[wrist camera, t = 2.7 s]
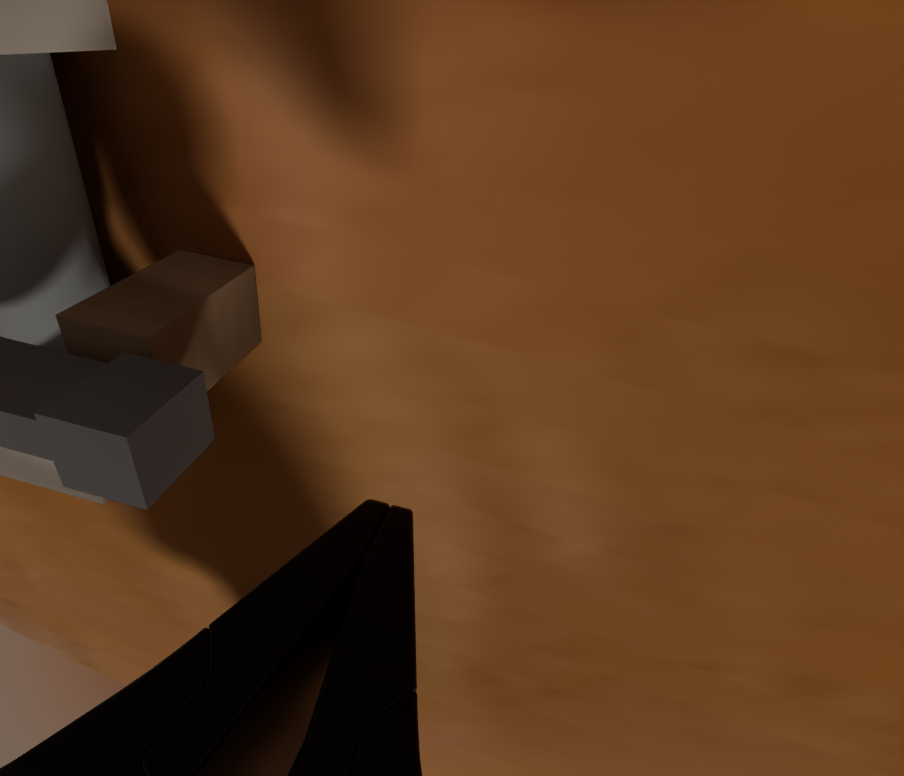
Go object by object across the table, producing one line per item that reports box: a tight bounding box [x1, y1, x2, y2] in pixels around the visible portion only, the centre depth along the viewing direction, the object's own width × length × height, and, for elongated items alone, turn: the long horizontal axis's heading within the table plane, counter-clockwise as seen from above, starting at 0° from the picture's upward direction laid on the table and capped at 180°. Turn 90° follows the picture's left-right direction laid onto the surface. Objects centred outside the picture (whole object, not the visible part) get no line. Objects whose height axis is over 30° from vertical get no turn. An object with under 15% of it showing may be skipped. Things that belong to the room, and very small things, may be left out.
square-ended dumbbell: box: [0, 0, 117, 505], centre depth 13 cm, size 15×4×4 cm, turn 173°
